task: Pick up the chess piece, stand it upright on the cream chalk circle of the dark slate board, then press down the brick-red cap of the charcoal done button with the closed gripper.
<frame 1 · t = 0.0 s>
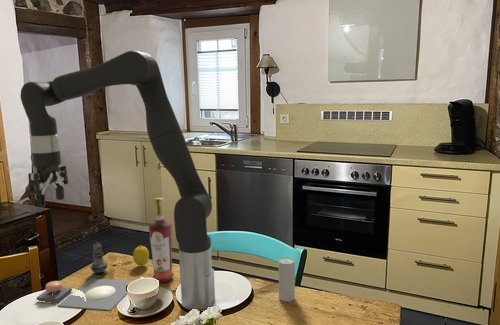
hand: (51, 202, 121), 29 cm above the table, tool pointing down, fingers open, 8 cm apart
liquor: (163, 280, 133), on the table
done button: (54, 288, 122), point 3 cm above the table, slide at 0.0 cm
lemon: (141, 267, 144), on the table
chess piece: (99, 274, 138), on the table
beverage can: (286, 299, 119), on the table
button housing: (54, 297, 123), on the table
slate board: (100, 293, 124), on the table
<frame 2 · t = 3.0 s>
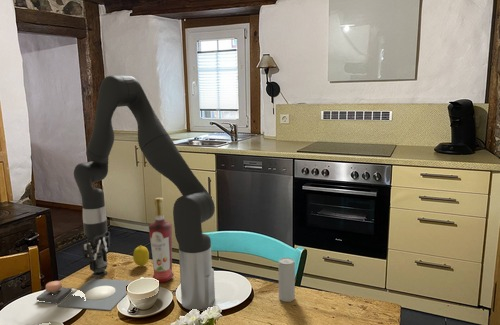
hand: (98, 265, 138), 3 cm above the table, tool pointing down, fingers closed on chess piece, 6 cm apart
chess piece: (99, 274, 138), on the table, touching gripper
everything else where it was.
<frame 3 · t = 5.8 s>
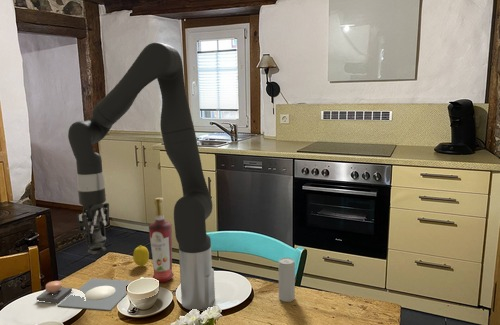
hand: (96, 240, 121), 17 cm above the table, tool pointing down, fingers closed on chess piece, 6 cm apart
chess piece: (97, 250, 122), point 14 cm above the table, touching gripper
everything else where it was.
when the fingers open (5 cm above the table, at t = 8.7 s): chess piece drops 1 cm, resting on slate board.
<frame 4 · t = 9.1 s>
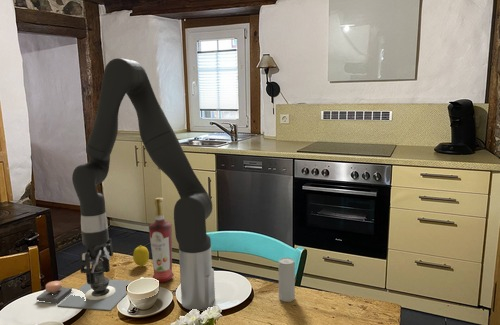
hand: (99, 277, 123), 5 cm above the table, tool pointing down, fingers open, 8 cm apart
chess piece: (100, 293, 124), resting on slate board
everything else where it was.
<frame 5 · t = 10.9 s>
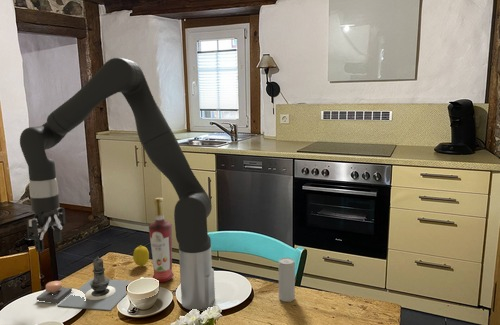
hand: (49, 246, 120), 16 cm above the table, tool pointing down, fingers open, 7 cm apart
nothing on the table moved.
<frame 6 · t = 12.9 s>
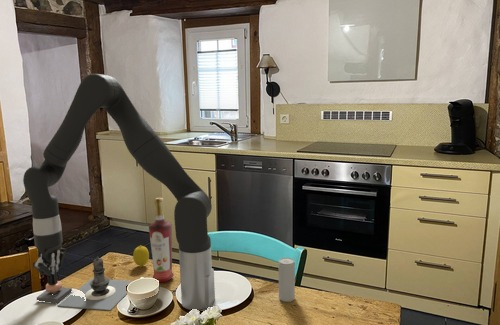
hand: (53, 284, 122), 4 cm above the table, tool pointing down, fingers closed
done button: (54, 288, 122), point 3 cm above the table, slide at 0.0 cm, touching gripper
everything else where it was.
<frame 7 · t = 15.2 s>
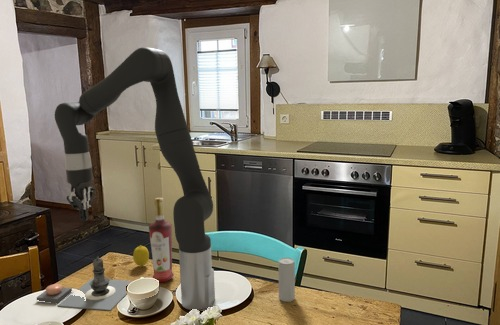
hand: (84, 220, 127), 22 cm above the table, tool pointing down, fingers closed
done button: (54, 291, 122), point 2 cm above the table, slide at -1.0 cm
everything else where it was.
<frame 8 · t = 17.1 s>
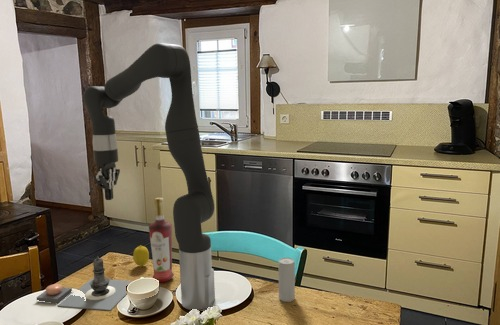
hand: (109, 199, 133), 27 cm above the table, tool pointing down, fingers closed
nothing on the table moved.
at the end: chess piece 0.1 cm from the slate board (horizontally); chess piece tilted 0°; done button slide at -1.0 cm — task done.
